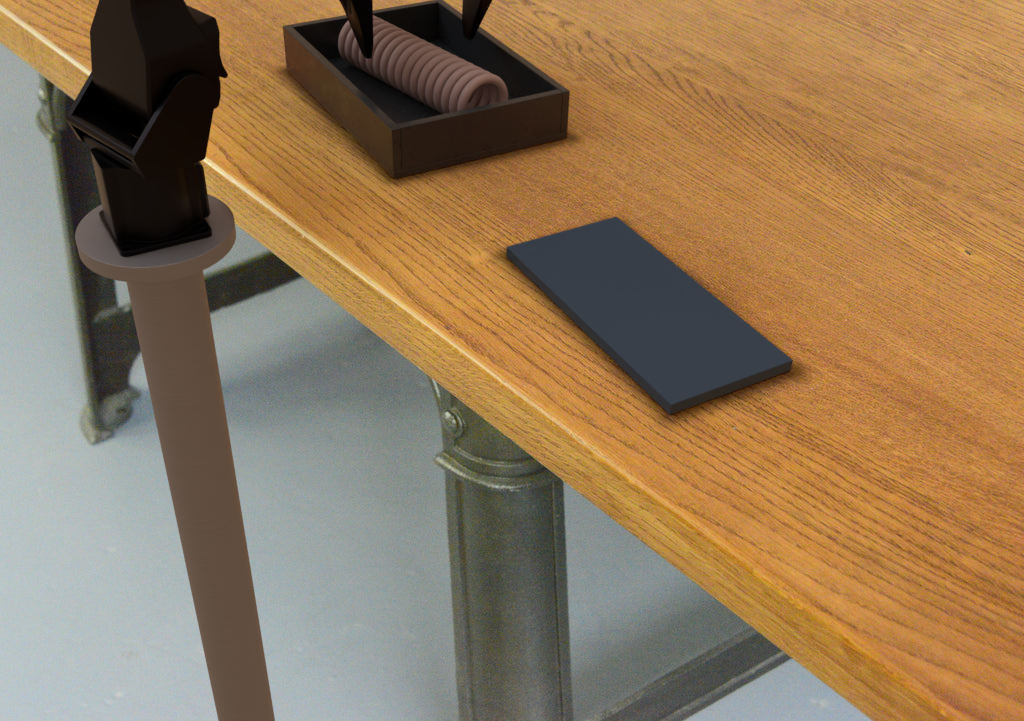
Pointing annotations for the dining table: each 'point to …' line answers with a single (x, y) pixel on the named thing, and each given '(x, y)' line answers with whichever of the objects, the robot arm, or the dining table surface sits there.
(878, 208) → the dining table surface
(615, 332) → the pad
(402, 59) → the coil
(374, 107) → the dark brown tray
